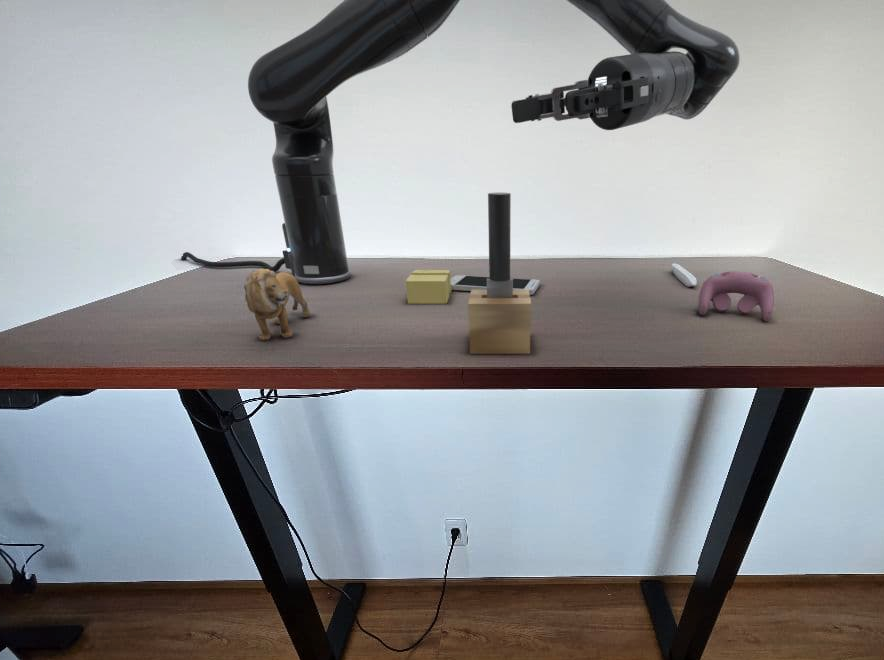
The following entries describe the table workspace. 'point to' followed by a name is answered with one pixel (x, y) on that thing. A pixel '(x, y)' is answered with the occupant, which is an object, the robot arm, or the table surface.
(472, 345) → the knife block
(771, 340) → the table surface
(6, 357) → the table surface
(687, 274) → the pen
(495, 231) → the knife
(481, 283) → the smartphone
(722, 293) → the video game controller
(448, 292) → the butter
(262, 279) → the lion figurine
